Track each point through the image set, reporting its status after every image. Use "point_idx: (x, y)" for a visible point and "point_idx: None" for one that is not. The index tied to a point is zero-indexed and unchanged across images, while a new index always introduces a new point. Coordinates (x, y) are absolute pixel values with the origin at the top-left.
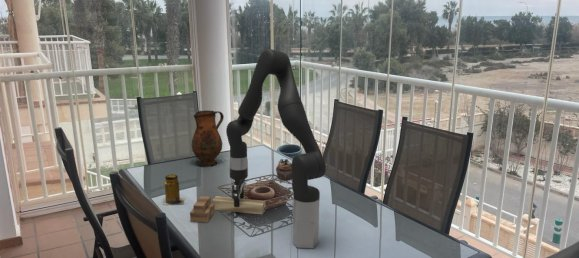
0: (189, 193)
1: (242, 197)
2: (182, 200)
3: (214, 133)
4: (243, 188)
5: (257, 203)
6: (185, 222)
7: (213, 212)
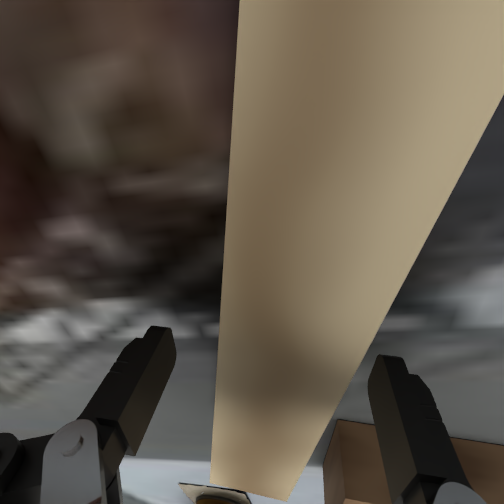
0: (128, 472)
1: (163, 348)
2: (207, 490)
3: None
4: (101, 491)
5: (416, 134)
6: None
7: (364, 433)
